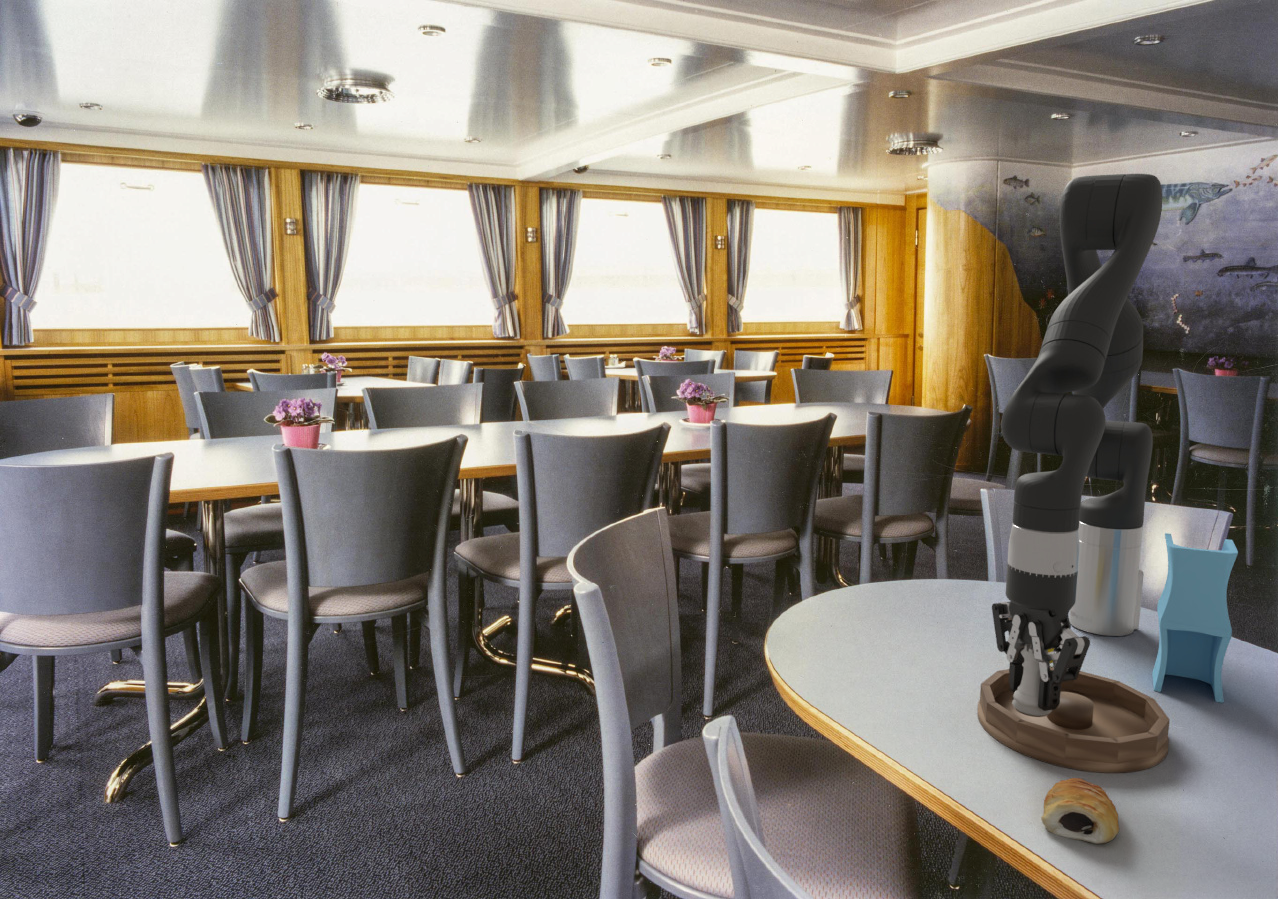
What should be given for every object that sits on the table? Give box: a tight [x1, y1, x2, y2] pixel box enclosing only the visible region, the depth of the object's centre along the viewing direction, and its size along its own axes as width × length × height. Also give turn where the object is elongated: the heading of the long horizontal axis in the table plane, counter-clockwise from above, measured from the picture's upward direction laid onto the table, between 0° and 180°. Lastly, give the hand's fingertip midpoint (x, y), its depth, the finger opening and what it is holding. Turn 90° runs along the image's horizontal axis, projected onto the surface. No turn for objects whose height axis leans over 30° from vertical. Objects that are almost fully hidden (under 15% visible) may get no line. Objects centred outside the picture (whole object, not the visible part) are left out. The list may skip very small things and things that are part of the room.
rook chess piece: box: [1012, 644, 1052, 717], centre depth 104 cm, size 4×4×8 cm
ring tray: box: [977, 666, 1171, 774], centre depth 106 cm, size 21×21×4 cm
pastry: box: [1040, 777, 1120, 845], centre depth 88 cm, size 9×7×4 cm
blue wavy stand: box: [1151, 532, 1239, 704], centre depth 116 cm, size 8×8×20 cm
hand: (1032, 699), depth 104 cm, fingers closed on rook chess piece, 4 cm apart
